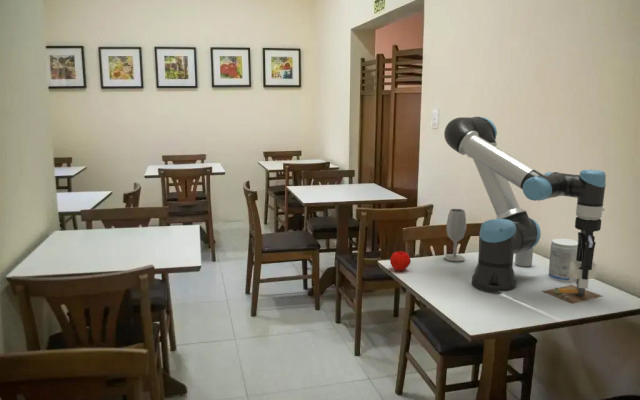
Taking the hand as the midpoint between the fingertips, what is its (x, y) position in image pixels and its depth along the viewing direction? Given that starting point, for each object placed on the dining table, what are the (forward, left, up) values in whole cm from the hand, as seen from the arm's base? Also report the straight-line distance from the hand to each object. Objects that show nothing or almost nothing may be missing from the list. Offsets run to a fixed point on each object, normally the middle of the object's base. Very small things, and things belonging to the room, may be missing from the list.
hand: (581, 285), depth 172 cm
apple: (-38, +50, -5) cm, 63 cm away
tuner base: (-2, +2, -4) cm, 5 cm away
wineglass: (-9, +52, -5) cm, 53 cm away
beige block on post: (-1, +1, -3) cm, 3 cm away
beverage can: (+11, +34, -5) cm, 36 cm away
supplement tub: (+10, +15, -5) cm, 19 cm away
